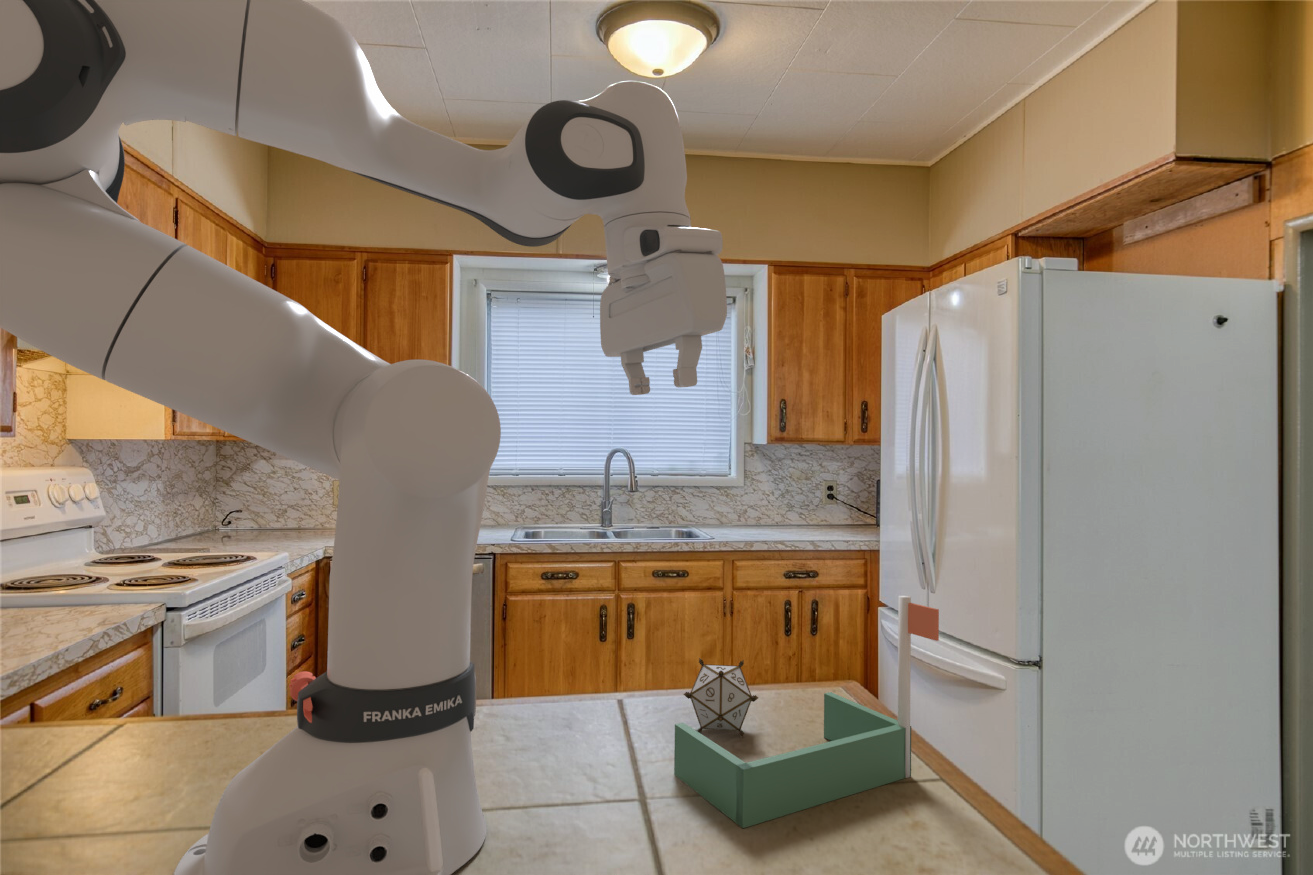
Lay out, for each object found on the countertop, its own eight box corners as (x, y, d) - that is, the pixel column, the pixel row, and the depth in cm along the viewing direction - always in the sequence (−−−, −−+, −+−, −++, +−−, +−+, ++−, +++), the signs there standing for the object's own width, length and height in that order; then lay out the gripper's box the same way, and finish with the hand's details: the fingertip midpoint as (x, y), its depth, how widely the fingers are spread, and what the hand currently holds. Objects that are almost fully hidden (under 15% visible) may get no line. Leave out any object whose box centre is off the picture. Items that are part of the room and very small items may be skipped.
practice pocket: (768, 848, 57) (770, 627, 58) (674, 774, 70) (676, 594, 71) (941, 790, 68) (941, 603, 68) (830, 735, 81) (832, 578, 81)
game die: (730, 758, 83) (774, 684, 86) (730, 761, 75) (779, 680, 78) (667, 712, 86) (712, 642, 88) (662, 710, 78) (711, 633, 80)
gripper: (581, 276, 78) (592, 400, 79) (673, 223, 61) (687, 383, 61) (631, 278, 82) (641, 396, 82) (733, 228, 64) (745, 380, 64)
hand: (661, 390), depth 71 cm, fingers open, 8 cm apart
